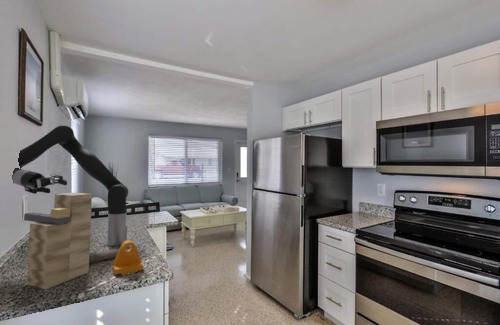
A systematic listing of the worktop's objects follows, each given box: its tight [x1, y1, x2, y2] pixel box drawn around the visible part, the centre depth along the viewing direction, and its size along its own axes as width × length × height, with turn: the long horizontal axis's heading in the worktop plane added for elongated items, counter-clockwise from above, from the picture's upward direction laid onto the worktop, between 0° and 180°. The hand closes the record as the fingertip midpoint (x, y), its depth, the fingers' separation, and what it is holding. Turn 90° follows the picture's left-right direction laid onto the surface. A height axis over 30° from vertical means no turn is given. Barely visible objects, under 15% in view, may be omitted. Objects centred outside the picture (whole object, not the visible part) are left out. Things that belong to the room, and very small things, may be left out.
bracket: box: [112, 239, 144, 276], centre depth 106 cm, size 11×7×12 cm, turn 123°
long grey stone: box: [89, 245, 138, 265], centre depth 118 cm, size 35×5×10 cm
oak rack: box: [26, 192, 93, 290], centre depth 98 cm, size 10×16×32 cm, turn 160°
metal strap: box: [23, 208, 70, 225], centre depth 95 cm, size 20×4×6 cm, turn 70°
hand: (58, 187), depth 115 cm, fingers open, 8 cm apart
